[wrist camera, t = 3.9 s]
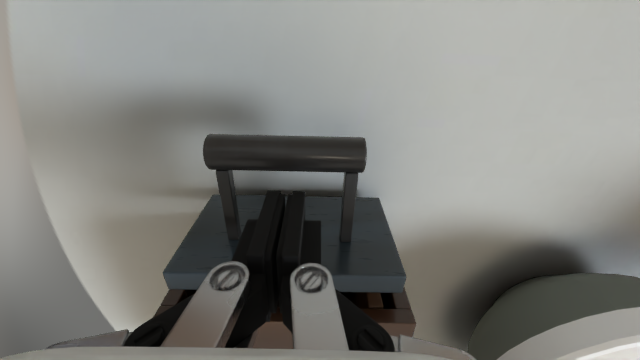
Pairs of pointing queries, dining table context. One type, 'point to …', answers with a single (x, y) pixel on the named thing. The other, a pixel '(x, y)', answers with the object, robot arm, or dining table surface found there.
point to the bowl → (563, 320)
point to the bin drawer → (334, 213)
